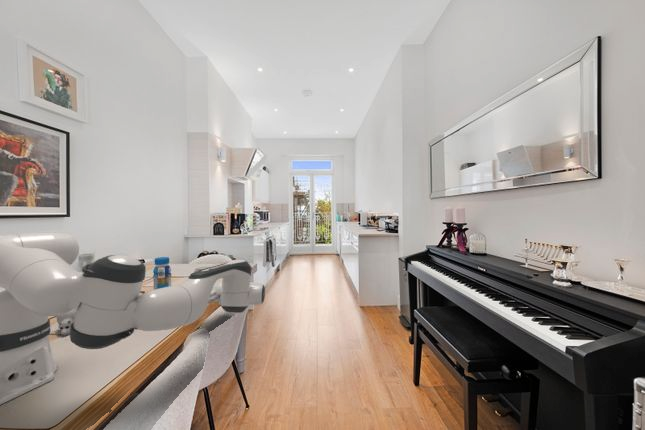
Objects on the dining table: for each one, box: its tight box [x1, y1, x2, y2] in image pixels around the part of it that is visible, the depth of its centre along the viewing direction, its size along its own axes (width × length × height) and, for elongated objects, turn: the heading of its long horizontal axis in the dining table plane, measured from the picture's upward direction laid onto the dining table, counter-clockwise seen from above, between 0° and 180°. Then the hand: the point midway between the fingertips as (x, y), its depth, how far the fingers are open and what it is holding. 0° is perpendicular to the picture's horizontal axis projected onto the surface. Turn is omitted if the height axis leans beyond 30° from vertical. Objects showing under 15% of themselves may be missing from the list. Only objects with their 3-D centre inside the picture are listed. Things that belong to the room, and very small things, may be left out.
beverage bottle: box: [152, 256, 172, 290], centre depth 146 cm, size 8×8×20 cm
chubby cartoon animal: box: [56, 309, 77, 336], centre depth 104 cm, size 7×12×8 cm, turn 27°
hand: (192, 291), depth 111 cm, fingers closed
